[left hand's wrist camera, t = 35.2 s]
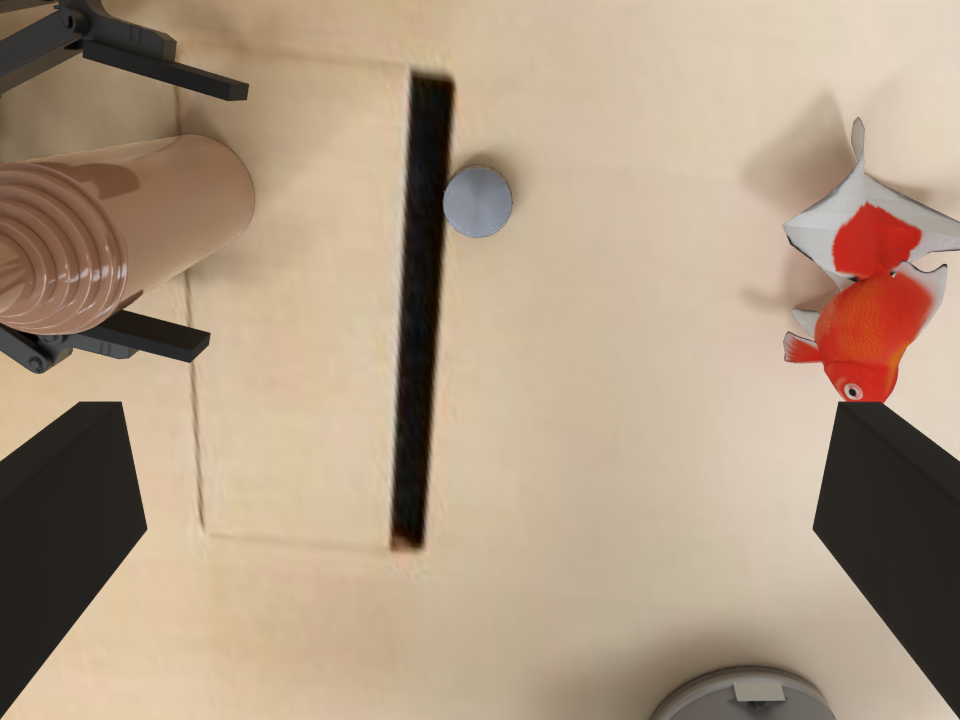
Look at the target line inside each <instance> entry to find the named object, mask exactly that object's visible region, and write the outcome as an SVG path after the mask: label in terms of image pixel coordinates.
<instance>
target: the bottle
mask: <svg viewBox="0 0 960 720" xmlns="http://www.w3.org/2000/svg"><path fill="white" fill-rule="evenodd" d="M254 204H255V195H254V188H253V184H252V181H251V178H250V175H249V173H248V171H247V169H246V167H245V166H244V165H243V163H242V162H241V160H240V159H239V158H238V157H237V156H236V154H234V153H233V152H232V151H231V150H230V149H229V148H227V147H226V146H225V145H223V144H222V143H220V142H218V141H216V140H214V139H211V138H209V137H205V136H201V135H194V134H186V135H179V136H172V137H166V138H160V139H153V140H147V141H141V142H135V143H128V144H122V145H116V146H109V147H103V148H97V149H90V150H84V151H78V152H72V153H65V154H59V155H53V156H46V157H40V158H34V159H28V160H21V161H15V162H9V163H2V164H0V323H2V324H4V325H7V326H9V327H11V328H14V329H17V330H19V331H23V332H27V333H31V334H39V335H66V334H74V333H78V332H82V331H86V330H88V329H90V328H93V327H95V326H96V325H98V324H100V323H101V322H103V321H104V320H106V319H108V318H109V317H111V316H113V315H114V314H116V313H117V312H119V311H121V310H122V309H124V308H125V307H127V306H129V305H130V304H132V303H133V302H135V301H137V300H138V299H140V298H141V297H143V296H145V295H146V294H148V293H149V292H151V291H153V290H154V289H156V288H157V287H159V286H161V285H162V284H164V283H166V282H167V281H169V280H170V279H172V278H174V277H175V276H177V275H178V274H180V273H182V272H183V271H185V270H186V269H188V268H190V267H191V266H193V265H194V264H196V263H198V262H199V261H201V260H202V259H204V258H206V257H207V256H209V255H210V254H212V253H214V252H215V251H217V250H219V249H220V248H222V247H223V246H225V245H227V244H228V243H230V242H231V241H233V240H235V239H236V238H237V237H238V236H240V235H241V234H242V233H243V231H244V230H245V229H246V227H247V226H248V224H249V222H250V220H251V218H252V214H253V211H254Z"/></svg>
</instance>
